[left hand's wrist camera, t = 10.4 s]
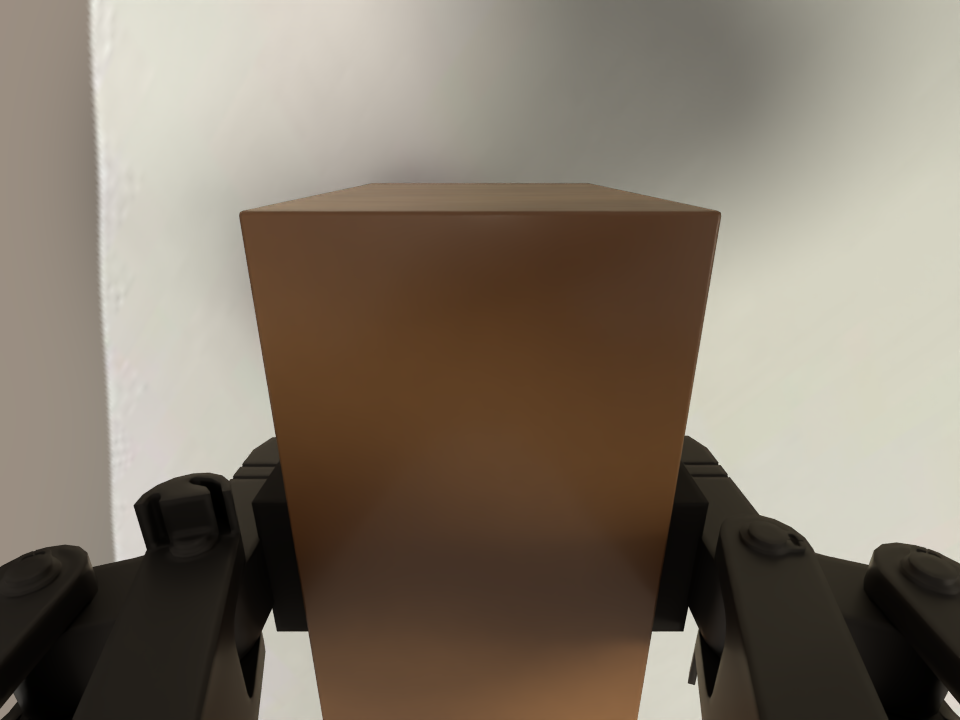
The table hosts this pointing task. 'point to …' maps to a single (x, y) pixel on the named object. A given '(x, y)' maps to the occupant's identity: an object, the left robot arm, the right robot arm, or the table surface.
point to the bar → (480, 436)
